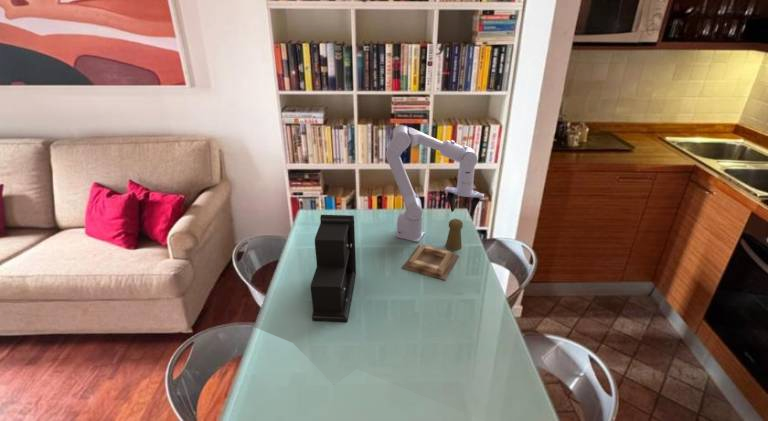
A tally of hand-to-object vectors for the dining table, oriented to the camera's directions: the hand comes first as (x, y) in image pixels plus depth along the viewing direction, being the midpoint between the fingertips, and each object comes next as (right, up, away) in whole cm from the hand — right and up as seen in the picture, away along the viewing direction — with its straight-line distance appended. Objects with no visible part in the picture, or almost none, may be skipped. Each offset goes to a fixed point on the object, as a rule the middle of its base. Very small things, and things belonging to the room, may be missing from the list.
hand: (462, 212), depth 157 cm
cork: (-4, -13, -1) cm, 13 cm away
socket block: (-13, -18, -11) cm, 25 cm away
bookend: (-46, -27, -27) cm, 59 cm away
